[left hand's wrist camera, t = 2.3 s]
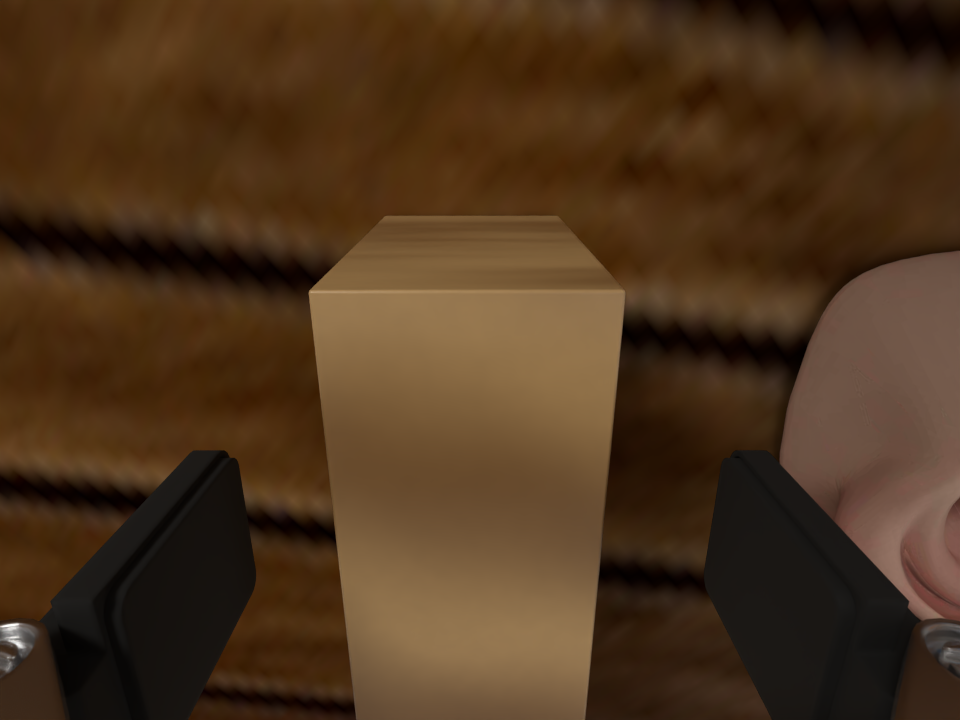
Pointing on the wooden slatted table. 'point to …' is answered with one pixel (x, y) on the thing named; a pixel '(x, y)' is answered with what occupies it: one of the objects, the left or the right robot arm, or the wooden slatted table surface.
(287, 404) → the wooden slatted table surface
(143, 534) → the left robot arm
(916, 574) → the anatomical model
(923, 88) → the wooden slatted table surface
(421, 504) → the bar
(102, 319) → the wooden slatted table surface
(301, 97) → the wooden slatted table surface
